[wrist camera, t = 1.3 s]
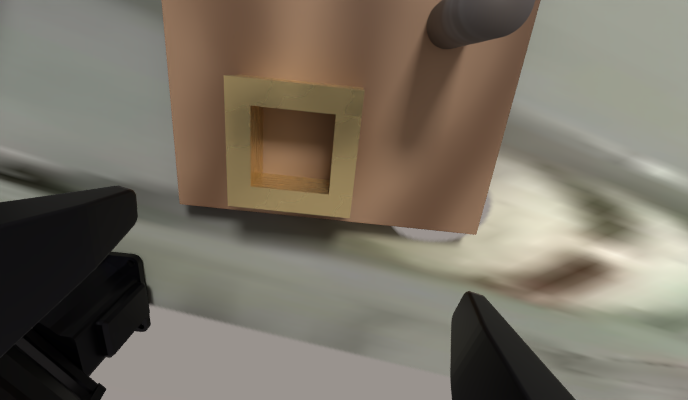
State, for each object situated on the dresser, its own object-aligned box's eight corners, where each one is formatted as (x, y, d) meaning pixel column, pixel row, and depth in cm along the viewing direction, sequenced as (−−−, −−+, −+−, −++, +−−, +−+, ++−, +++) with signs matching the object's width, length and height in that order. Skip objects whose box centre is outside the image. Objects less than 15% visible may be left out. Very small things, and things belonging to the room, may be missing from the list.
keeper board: (191, 195, 21) (111, 255, 14) (171, -71, 16) (33, -177, 9) (468, 224, 21) (522, 297, 14) (534, -31, 16) (668, -107, 9)
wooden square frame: (242, 190, 20) (227, 205, 17) (240, 74, 17) (223, 75, 15) (350, 201, 20) (349, 218, 17) (363, 87, 17) (364, 90, 15)
